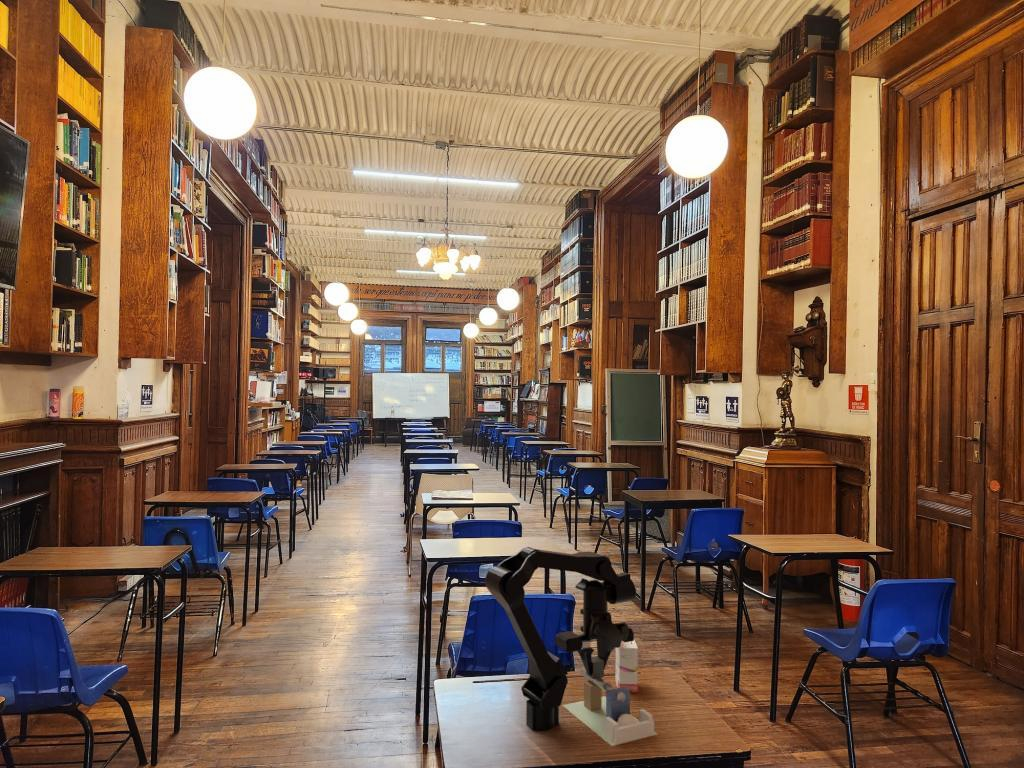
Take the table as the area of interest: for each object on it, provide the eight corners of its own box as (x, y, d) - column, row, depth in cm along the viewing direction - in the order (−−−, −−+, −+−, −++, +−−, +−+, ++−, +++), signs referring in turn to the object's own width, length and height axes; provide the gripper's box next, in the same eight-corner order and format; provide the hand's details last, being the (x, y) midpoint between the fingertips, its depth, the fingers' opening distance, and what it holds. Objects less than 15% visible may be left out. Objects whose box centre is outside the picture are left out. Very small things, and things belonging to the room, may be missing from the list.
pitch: (611, 750, 140) (611, 718, 140) (562, 709, 159) (562, 681, 159) (657, 738, 145) (657, 707, 145) (604, 700, 164) (604, 672, 164)
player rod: (612, 729, 146) (612, 678, 146) (575, 700, 160) (575, 653, 161) (631, 724, 148) (631, 674, 148) (592, 696, 162) (592, 650, 163)
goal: (615, 744, 140) (615, 725, 140) (605, 736, 144) (605, 717, 144) (654, 735, 145) (654, 716, 145) (643, 727, 148) (643, 708, 148)
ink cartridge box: (639, 695, 167) (639, 636, 167) (619, 695, 167) (619, 636, 167) (633, 681, 175) (633, 625, 176) (614, 681, 175) (614, 625, 176)
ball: (613, 712, 147) (613, 731, 146) (623, 719, 143) (624, 738, 143) (628, 709, 148) (628, 728, 148) (639, 715, 145) (639, 735, 144)
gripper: (579, 622, 146) (579, 694, 146) (648, 611, 154) (648, 679, 154) (554, 608, 156) (554, 675, 156) (620, 598, 164) (620, 662, 164)
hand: (595, 673), depth 157 cm, fingers closed on player rod, 3 cm apart
